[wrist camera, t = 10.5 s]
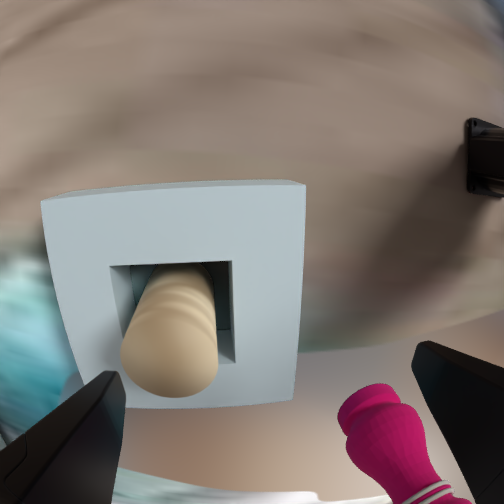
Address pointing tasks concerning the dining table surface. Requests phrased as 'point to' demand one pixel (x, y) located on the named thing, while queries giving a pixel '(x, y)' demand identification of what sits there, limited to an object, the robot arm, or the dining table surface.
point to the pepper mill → (392, 447)
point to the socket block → (181, 251)
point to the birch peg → (173, 333)
